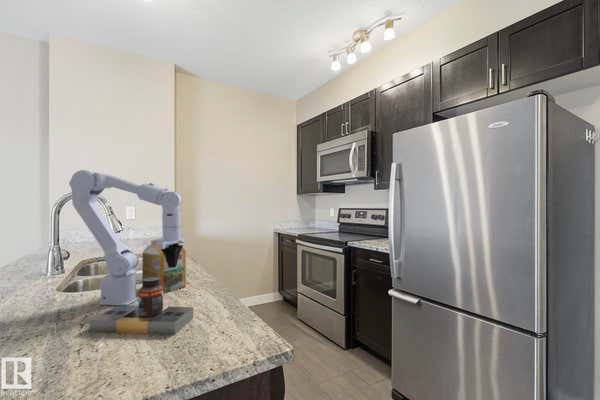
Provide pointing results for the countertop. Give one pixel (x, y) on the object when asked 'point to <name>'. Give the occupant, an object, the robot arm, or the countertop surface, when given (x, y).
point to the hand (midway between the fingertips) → (172, 267)
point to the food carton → (164, 268)
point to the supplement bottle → (150, 298)
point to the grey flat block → (141, 321)
